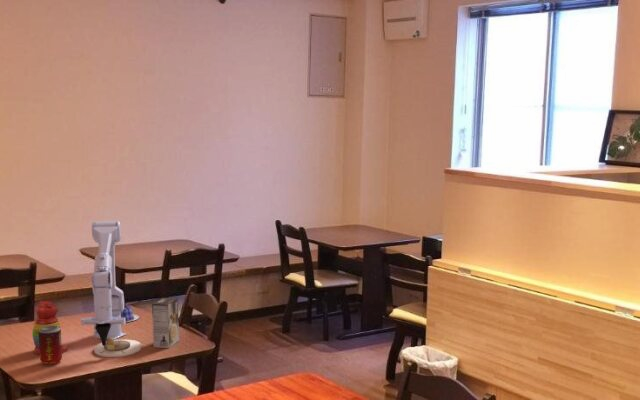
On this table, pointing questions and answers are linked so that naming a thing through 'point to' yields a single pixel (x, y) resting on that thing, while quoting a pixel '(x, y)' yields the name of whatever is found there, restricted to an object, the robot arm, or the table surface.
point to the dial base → (133, 349)
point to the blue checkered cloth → (128, 314)
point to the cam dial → (116, 345)
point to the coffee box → (165, 322)
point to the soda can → (50, 345)
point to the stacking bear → (45, 321)
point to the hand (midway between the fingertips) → (104, 344)
